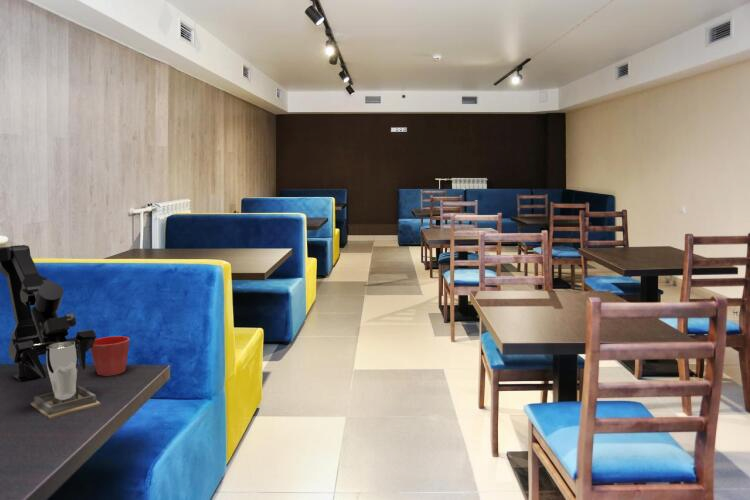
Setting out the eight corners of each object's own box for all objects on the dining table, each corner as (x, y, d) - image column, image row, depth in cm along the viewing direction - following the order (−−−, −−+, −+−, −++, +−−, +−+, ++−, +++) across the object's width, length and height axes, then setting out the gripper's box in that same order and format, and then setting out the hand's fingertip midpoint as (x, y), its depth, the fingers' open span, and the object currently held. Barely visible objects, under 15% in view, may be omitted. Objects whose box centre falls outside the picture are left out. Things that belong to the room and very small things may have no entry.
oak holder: (30, 404, 153) (29, 395, 152) (79, 392, 161) (79, 383, 161) (49, 418, 143) (48, 409, 143) (100, 404, 151) (100, 396, 151)
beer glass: (61, 409, 148) (56, 349, 146) (43, 404, 151) (39, 346, 149) (86, 399, 154) (82, 342, 152) (69, 395, 157) (65, 339, 155)
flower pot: (102, 366, 183) (100, 335, 182) (137, 366, 183) (135, 335, 182) (84, 377, 173) (81, 345, 172) (121, 377, 172) (119, 344, 171)
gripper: (10, 310, 146) (27, 364, 139) (91, 299, 158) (109, 347, 152) (5, 336, 152) (21, 388, 145) (83, 323, 165) (100, 371, 158)
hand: (64, 373), depth 150 cm, fingers open, 9 cm apart
